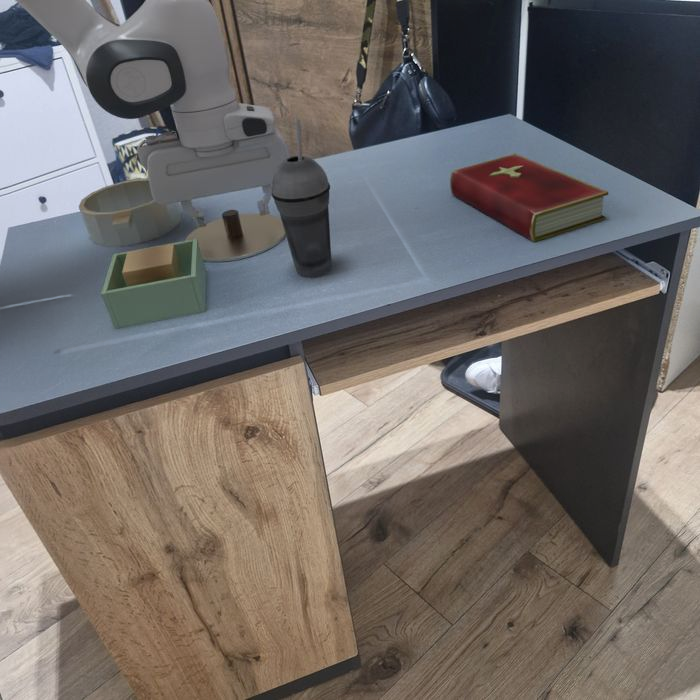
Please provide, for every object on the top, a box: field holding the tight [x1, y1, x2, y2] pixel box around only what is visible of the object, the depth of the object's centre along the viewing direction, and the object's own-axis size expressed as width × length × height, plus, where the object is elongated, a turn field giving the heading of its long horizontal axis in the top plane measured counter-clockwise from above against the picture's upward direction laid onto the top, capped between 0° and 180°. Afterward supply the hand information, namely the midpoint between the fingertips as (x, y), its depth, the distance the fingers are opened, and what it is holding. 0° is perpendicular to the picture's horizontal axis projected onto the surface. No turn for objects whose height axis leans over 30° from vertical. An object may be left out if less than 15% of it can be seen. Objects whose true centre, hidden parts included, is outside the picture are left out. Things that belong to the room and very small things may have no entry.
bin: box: [100, 239, 207, 330], centre depth 82 cm, size 11×11×6 cm
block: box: [122, 242, 184, 287], centre depth 82 cm, size 6×6×6 cm
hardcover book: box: [449, 153, 609, 243], centre depth 93 cm, size 12×21×4 cm, turn 23°
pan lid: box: [184, 209, 286, 263], centre depth 95 cm, size 16×16×5 cm
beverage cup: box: [271, 119, 332, 279], centre depth 79 cm, size 7×7×20 cm
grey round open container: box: [78, 177, 182, 248], centre depth 103 cm, size 15×20×6 cm
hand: (233, 219), depth 95 cm, fingers open, 8 cm apart
